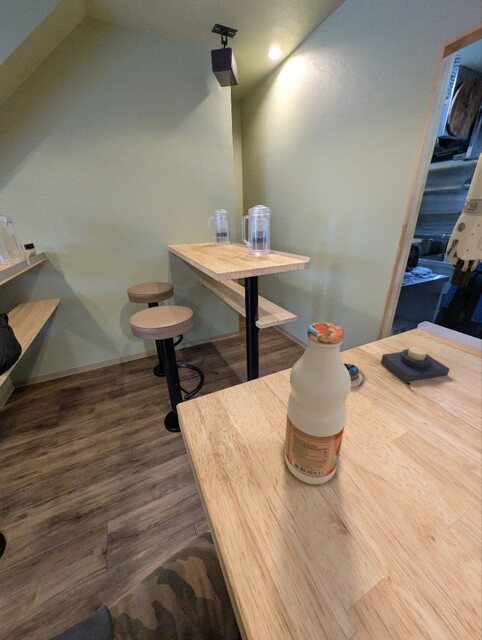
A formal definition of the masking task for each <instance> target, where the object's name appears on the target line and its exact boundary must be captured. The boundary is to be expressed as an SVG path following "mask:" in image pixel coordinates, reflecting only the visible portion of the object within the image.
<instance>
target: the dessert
mask: <svg viewBox="0 0 482 640" xmlns="http://www.w3.org/2000/svg"><path fill="white" fill-rule="evenodd" d="M343 365H344V366H345V367H346V368H347V370H348V372H349V374H350V377H351V388H355V387H357V386H359V385H360V384H361V383H362V382H363V379H364V378H363V376H362V374H361V373H360V370H359V367H357V365H355V364H352V363H346V362H344V363H343Z"/></svg>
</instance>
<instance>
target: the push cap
mask: <svg viewBox="0 0 482 640" xmlns="http://www.w3.org/2000/svg"><path fill="white" fill-rule="evenodd" d="M408 349H409V351H408V357H410V358H412V359H414V360H419V361H423V360H425V357H426V354H428V352H427V350H426V349H424V348H423V347H418V346H411V347H409V348H408Z"/></svg>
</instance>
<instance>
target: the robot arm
mask: <svg viewBox="0 0 482 640" xmlns="http://www.w3.org/2000/svg"><path fill="white" fill-rule="evenodd" d="M445 255H446V257H447V258H446V261H445V263H446V264H450V265H452V270H453V272H452V275H451V278H450V282H449V283H450V285H453V286H456V287H459V288H461V287H467V286H468V284H469V281H470V278H471V276H472V273H473V271H475V270H476V268H477V266H478V265H479V264H480V263H482V152H481V153H480V155H479V156H478V160H477V163H476V167H475V170H474V172H473V176H472V179H471V182H470V186H469V189H468V192H467V195H466V199H465V202H464V205H463V206H462V212H461V214H460V215H459V217H458V219H457V221H456V223H455V225H454V227H453V230H452V232H451V235H450V238H449V240H448V243H447V247H446V251H445Z"/></svg>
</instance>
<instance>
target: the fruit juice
mask: <svg viewBox="0 0 482 640" xmlns="http://www.w3.org/2000/svg"><path fill="white" fill-rule="evenodd" d="M306 335H307V336H306V338H307V341H308V343H307V345H306V348H305V350H304V352H303V354H302V356H301V357H300V358H298V359H297V361H296V362H295V363H294V364H293V365H292V367H291V370H290V375H289V383H290V389H291V391H290V392H289V395H288V399H287V407H286V426H285V442H284V459H285V463H286V466H287V468H288V470H289V472H290V473H291V474H292V475H293V476H294V477H295V478H296V479H298V480H299V481H301V482H303V483H306V484H309V485H322V484H324V483H327V482H328V481H330V480H331V479H332V478H333V476H335V473H336V471H337V467H338V463H339V457H340V451H341V446H342V442H343V437H344V431H345V426H346V423H347V421H346V420H347V415H348V414H347V413H348V407H347V406H348V405H347V401H346V400H347V399H348V397H349V395H350V393H351V390H352V389H351V388H352V387H351V377H350V374H349V372H348V370H347V368H346V367H345V366H344V365H343V364H344V363H343V361H342V355H341V345H342V343H343V341H344V337H345V332H344V329H343V328H342V327H341V326H340V325H338V324H335V323H332V322H327V321H326V322H323V321H322V322H321V321H320V322H313V323H311V324H310V325H309V326H308V328H307V332H306Z"/></svg>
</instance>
